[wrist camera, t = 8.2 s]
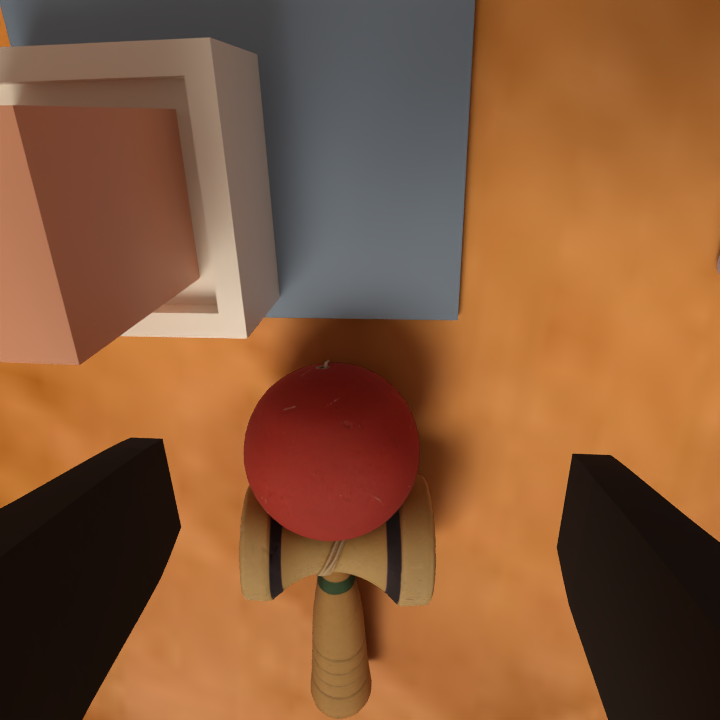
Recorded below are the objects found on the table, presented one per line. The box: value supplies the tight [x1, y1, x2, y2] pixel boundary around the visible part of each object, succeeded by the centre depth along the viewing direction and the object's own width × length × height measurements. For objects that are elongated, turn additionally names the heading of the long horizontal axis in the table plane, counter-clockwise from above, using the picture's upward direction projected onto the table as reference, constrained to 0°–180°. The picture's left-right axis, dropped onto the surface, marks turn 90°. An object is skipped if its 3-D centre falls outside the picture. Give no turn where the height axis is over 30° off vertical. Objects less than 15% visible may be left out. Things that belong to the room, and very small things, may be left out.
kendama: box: [239, 360, 436, 719], centre depth 21 cm, size 8×6×18 cm
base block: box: [0, 37, 280, 338], centre depth 16 cm, size 8×8×4 cm
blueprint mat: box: [0, 0, 475, 320], centre depth 16 cm, size 14×17×1 cm
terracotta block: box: [0, 105, 200, 365], centre depth 12 cm, size 4×4×6 cm
